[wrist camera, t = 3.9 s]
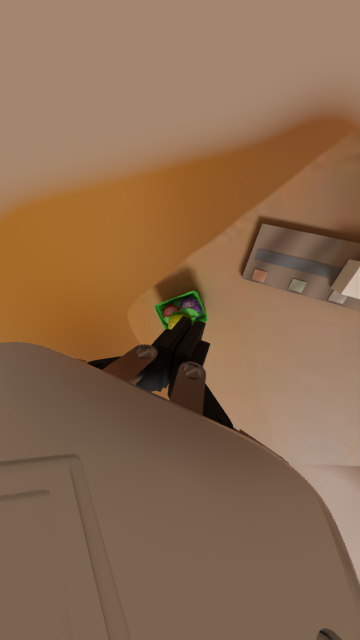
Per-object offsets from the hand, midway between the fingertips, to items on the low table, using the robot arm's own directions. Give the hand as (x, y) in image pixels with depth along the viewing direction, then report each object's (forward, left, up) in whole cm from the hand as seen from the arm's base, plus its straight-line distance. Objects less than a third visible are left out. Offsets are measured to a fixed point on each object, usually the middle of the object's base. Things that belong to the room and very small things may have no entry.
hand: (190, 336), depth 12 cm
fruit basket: (+7, +11, -29) cm, 32 cm away
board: (-14, -5, -29) cm, 32 cm away
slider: (-20, -5, -27) cm, 34 cm away
